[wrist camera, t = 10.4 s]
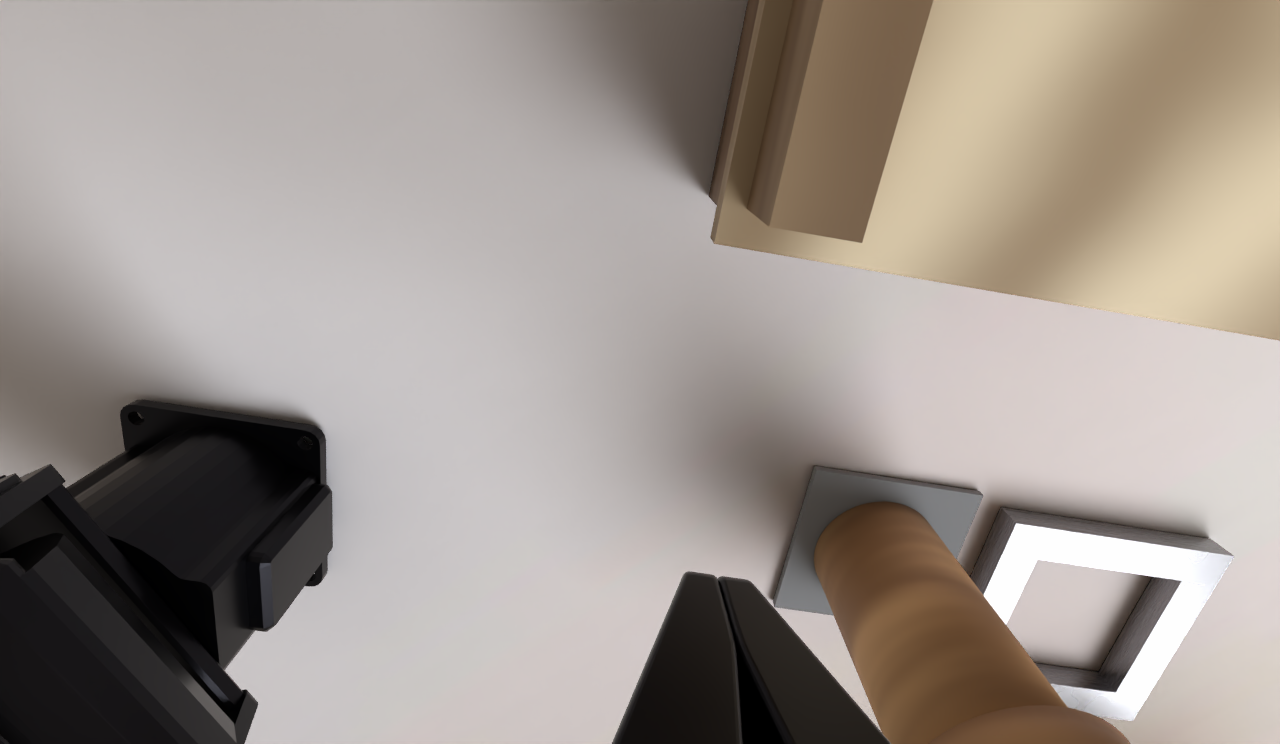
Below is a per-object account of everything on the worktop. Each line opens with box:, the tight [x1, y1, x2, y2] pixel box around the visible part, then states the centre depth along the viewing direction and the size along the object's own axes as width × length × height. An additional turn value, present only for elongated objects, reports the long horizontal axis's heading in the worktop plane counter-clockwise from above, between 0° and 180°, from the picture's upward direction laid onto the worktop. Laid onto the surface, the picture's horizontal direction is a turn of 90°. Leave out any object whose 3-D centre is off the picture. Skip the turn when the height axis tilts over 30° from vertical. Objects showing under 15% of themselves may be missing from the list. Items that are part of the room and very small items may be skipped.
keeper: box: [970, 507, 1234, 721], centre depth 24 cm, size 8×8×1 cm
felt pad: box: [773, 466, 983, 615], centre depth 23 cm, size 6×6×1 cm
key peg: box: [814, 501, 1130, 744], centre depth 18 cm, size 6×6×10 cm
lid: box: [711, 0, 1280, 340], centre depth 11 cm, size 14×7×3 cm, turn 80°
